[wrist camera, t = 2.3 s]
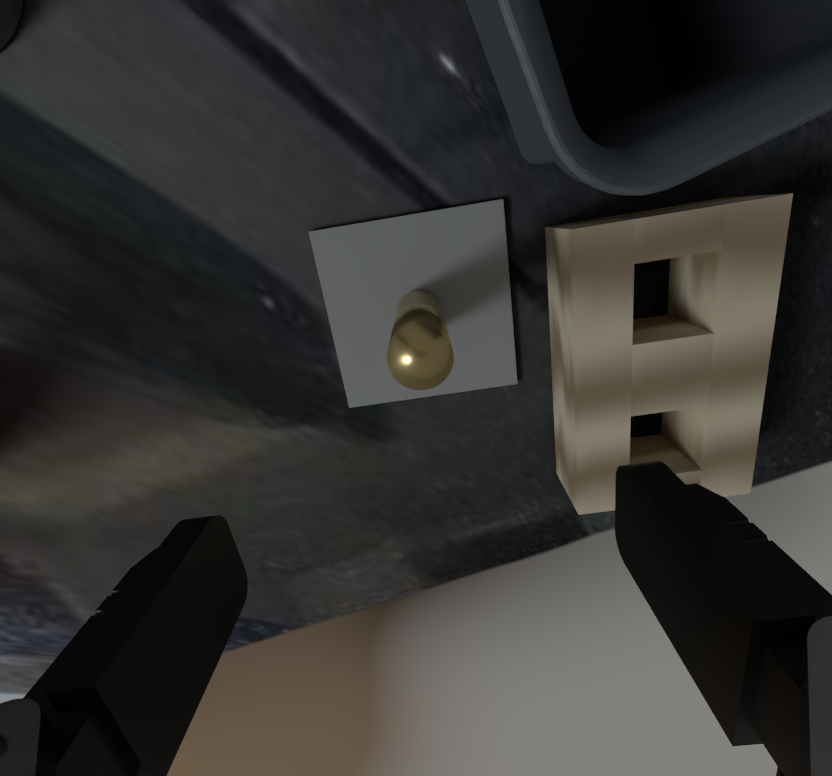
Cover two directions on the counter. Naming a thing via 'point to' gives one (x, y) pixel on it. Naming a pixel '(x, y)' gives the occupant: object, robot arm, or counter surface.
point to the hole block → (664, 342)
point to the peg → (420, 342)
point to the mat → (411, 270)
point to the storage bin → (654, 81)
